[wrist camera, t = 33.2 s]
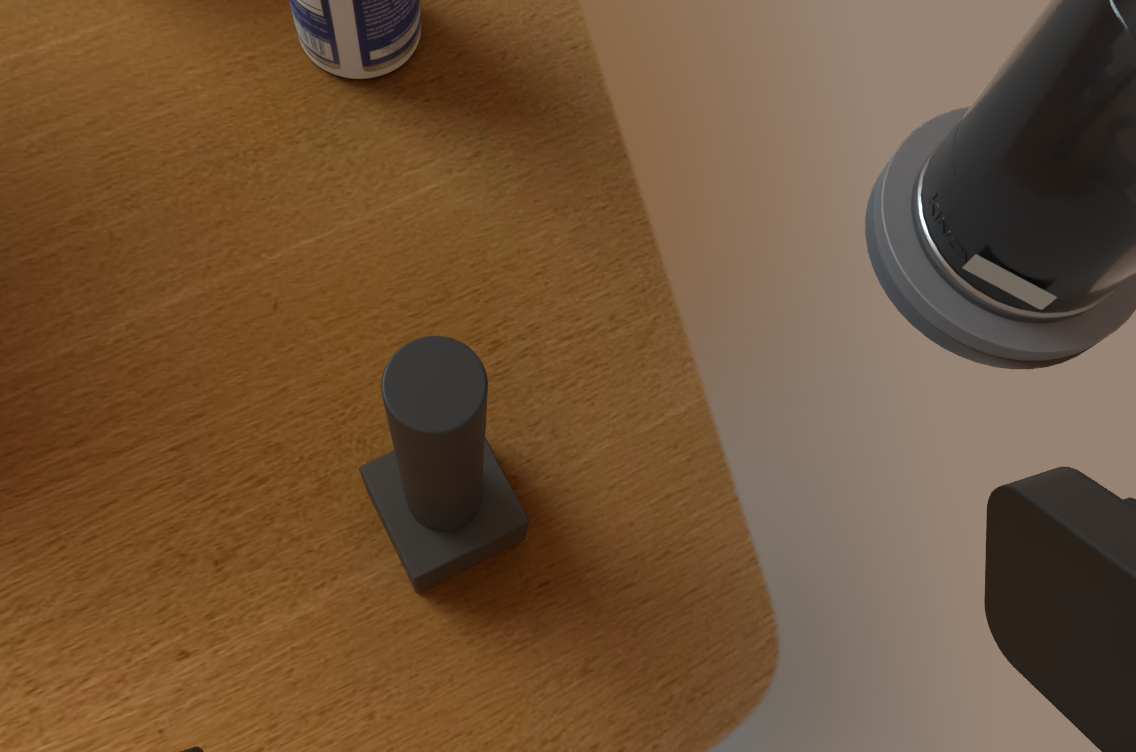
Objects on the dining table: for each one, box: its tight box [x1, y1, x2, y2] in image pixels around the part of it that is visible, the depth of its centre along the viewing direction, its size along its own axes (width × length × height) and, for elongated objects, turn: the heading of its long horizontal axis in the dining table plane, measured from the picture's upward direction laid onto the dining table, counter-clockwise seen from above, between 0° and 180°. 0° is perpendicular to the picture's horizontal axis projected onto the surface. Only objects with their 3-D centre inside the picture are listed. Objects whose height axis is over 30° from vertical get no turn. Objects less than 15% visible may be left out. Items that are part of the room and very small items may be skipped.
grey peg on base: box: [359, 336, 529, 594], centre depth 32 cm, size 4×4×14 cm
